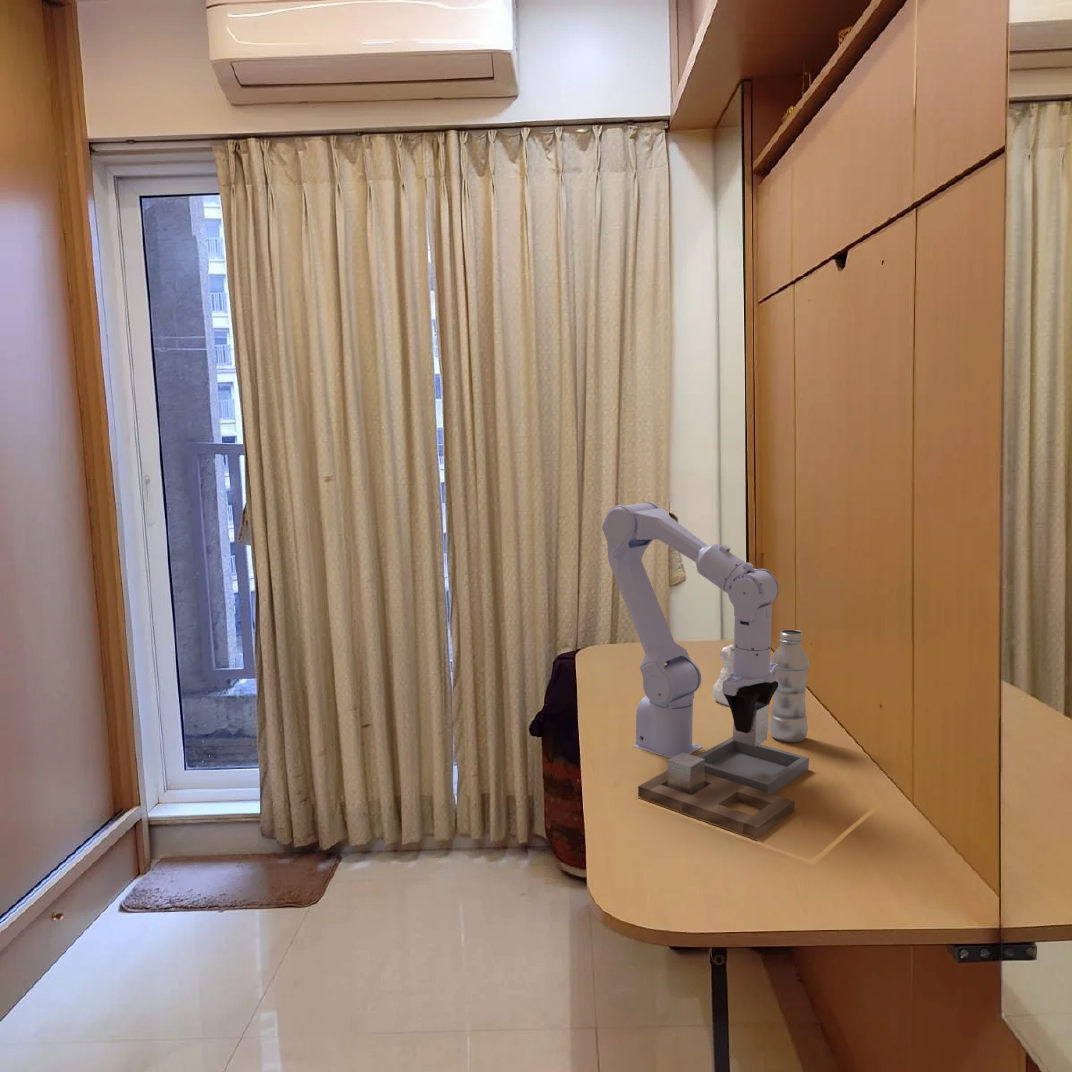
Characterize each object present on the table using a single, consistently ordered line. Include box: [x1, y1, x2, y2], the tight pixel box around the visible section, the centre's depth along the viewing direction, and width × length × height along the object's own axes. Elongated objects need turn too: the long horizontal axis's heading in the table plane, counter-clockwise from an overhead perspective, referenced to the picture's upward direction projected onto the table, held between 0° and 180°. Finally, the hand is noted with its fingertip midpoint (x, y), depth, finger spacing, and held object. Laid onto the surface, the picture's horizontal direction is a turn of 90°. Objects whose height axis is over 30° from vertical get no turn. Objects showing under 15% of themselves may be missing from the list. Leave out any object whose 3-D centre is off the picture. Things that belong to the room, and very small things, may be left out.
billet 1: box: [667, 752, 705, 795], centre depth 130 cm, size 4×4×6 cm
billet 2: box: [732, 701, 770, 747], centre depth 137 cm, size 4×4×6 cm
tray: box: [696, 736, 810, 795], centre depth 138 cm, size 14×14×2 cm
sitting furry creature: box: [712, 644, 734, 707], centre depth 173 cm, size 10×9×12 cm
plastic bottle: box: [768, 629, 810, 743], centre depth 152 cm, size 6×7×20 cm
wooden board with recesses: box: [637, 769, 795, 842], centre depth 127 cm, size 20×11×2 cm, turn 47°
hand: (749, 727), depth 137 cm, fingers closed on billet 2, 4 cm apart
